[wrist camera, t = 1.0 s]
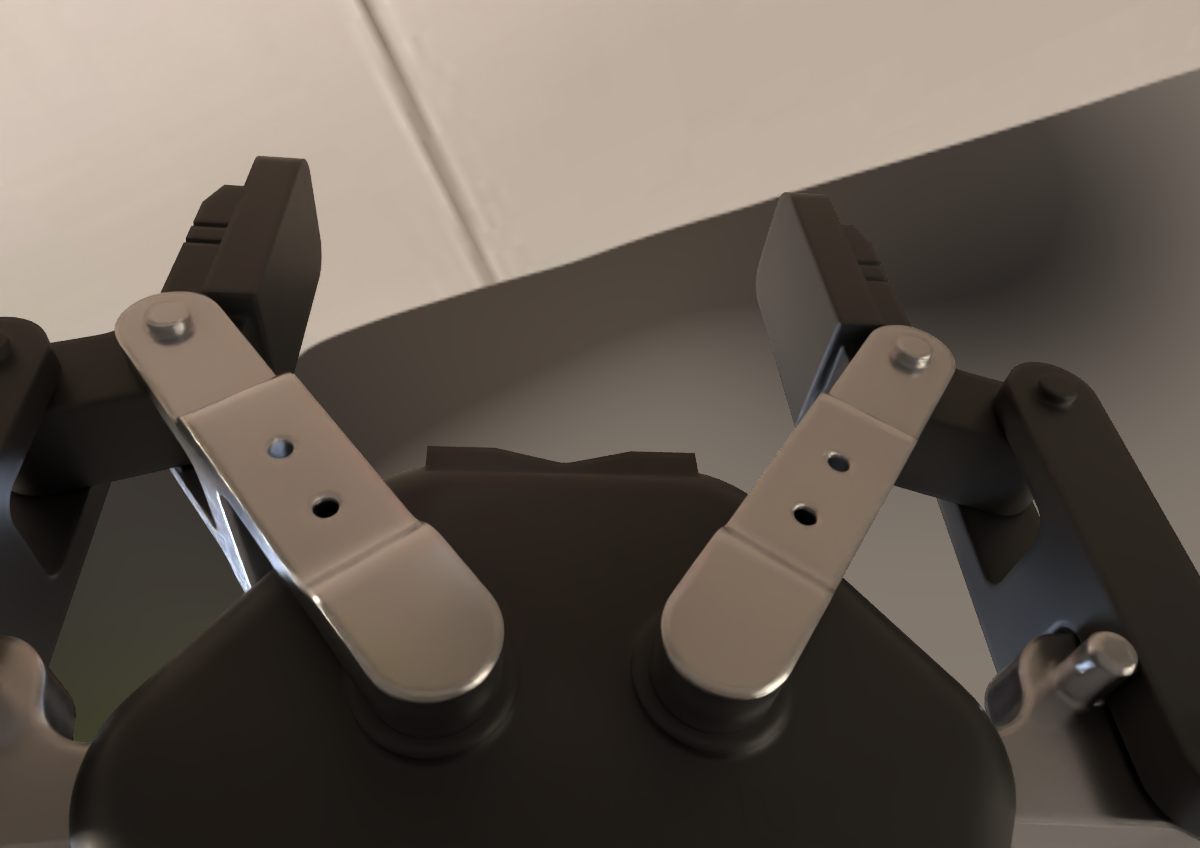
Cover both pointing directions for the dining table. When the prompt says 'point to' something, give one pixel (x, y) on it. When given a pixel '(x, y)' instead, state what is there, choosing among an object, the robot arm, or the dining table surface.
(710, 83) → the dining table surface
